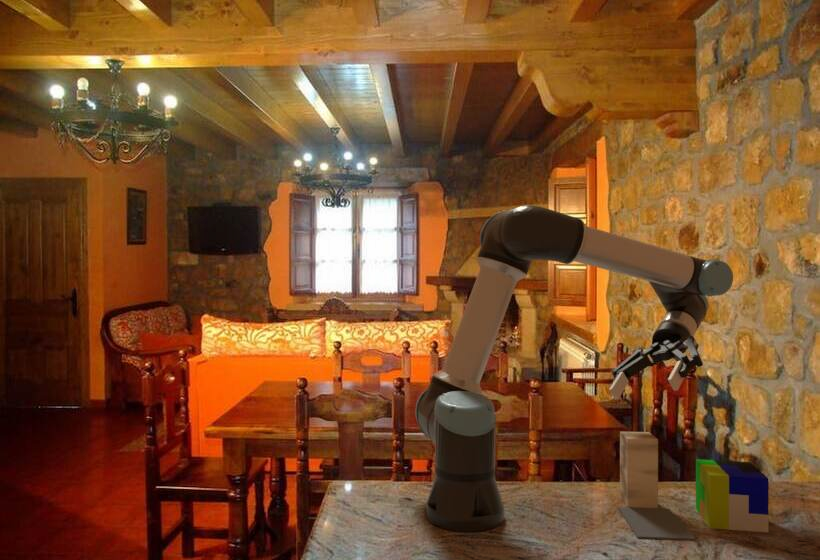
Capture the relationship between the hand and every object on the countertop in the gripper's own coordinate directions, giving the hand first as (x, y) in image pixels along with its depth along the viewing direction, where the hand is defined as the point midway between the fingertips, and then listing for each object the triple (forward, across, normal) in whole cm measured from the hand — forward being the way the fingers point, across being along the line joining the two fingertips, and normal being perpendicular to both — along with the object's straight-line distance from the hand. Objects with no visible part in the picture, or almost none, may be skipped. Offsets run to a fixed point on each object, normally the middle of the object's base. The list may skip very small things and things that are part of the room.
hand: (641, 390), depth 125 cm
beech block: (+10, +8, -20) cm, 24 cm away
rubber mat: (+17, +1, -18) cm, 25 cm away
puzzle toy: (+7, -7, -27) cm, 29 cm away
